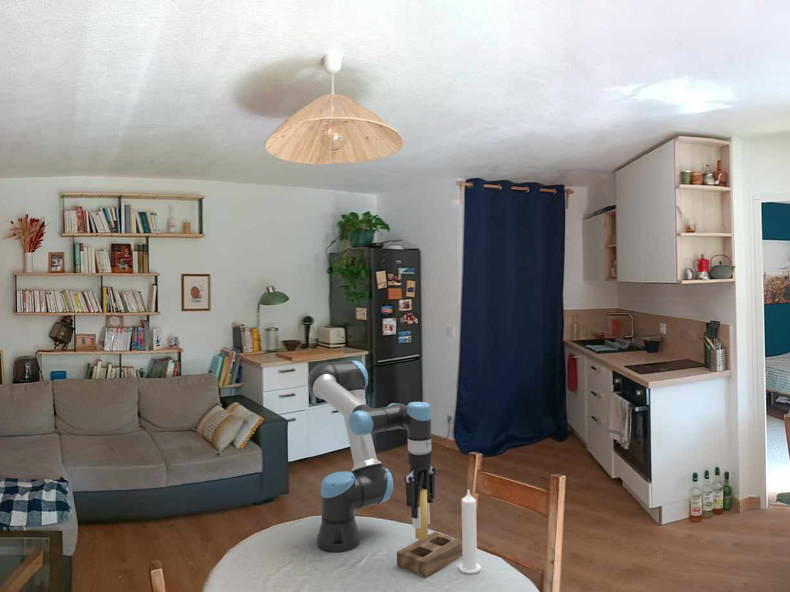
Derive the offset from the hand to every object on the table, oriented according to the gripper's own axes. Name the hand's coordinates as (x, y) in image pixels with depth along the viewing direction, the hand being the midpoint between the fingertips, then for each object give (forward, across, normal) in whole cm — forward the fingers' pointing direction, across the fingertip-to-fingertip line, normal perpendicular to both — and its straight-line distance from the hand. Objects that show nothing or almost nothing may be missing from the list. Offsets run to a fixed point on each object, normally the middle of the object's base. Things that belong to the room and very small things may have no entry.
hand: (421, 525), depth 182 cm
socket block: (+13, +5, 0) cm, 14 cm away
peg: (+4, 0, 0) cm, 4 cm away
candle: (+13, +8, -13) cm, 20 cm away
